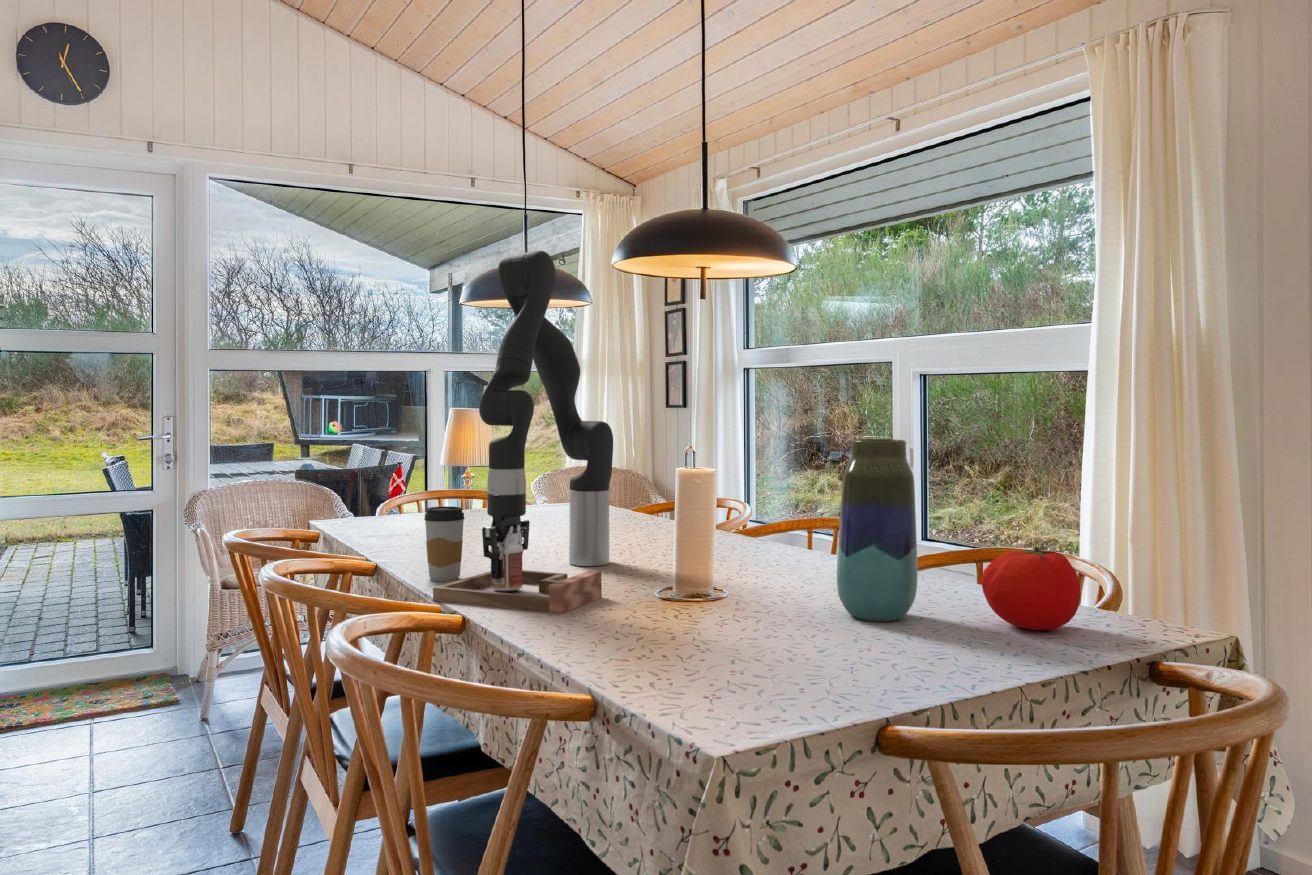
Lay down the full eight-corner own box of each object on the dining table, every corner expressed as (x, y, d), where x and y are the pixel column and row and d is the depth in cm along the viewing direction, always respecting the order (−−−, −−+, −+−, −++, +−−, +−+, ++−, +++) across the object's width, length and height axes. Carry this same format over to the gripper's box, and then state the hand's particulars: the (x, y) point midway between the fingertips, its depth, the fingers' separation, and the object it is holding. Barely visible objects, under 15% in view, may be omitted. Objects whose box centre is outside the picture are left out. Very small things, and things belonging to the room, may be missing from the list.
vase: (916, 611, 171) (919, 439, 170) (916, 628, 157) (919, 442, 156) (839, 606, 174) (841, 437, 173) (832, 622, 161) (835, 440, 160)
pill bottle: (521, 585, 190) (521, 530, 190) (523, 591, 184) (523, 534, 184) (489, 586, 189) (489, 531, 188) (491, 592, 183) (491, 535, 182)
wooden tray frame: (500, 579, 199) (500, 555, 199) (618, 590, 188) (618, 565, 188) (433, 600, 177) (433, 573, 177) (561, 613, 167) (561, 585, 166)
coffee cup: (469, 575, 203) (469, 506, 202) (457, 583, 195) (457, 510, 194) (432, 574, 204) (431, 505, 203) (418, 582, 195) (418, 510, 195)
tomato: (1084, 626, 160) (1086, 545, 159) (1074, 643, 148) (1076, 556, 148) (988, 615, 168) (990, 538, 167) (971, 630, 156) (973, 548, 156)
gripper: (509, 487, 194) (509, 568, 194) (469, 493, 180) (469, 580, 181) (541, 489, 191) (541, 571, 191) (503, 495, 177) (503, 583, 178)
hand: (506, 575), depth 186 cm, fingers closed on pill bottle, 6 cm apart
